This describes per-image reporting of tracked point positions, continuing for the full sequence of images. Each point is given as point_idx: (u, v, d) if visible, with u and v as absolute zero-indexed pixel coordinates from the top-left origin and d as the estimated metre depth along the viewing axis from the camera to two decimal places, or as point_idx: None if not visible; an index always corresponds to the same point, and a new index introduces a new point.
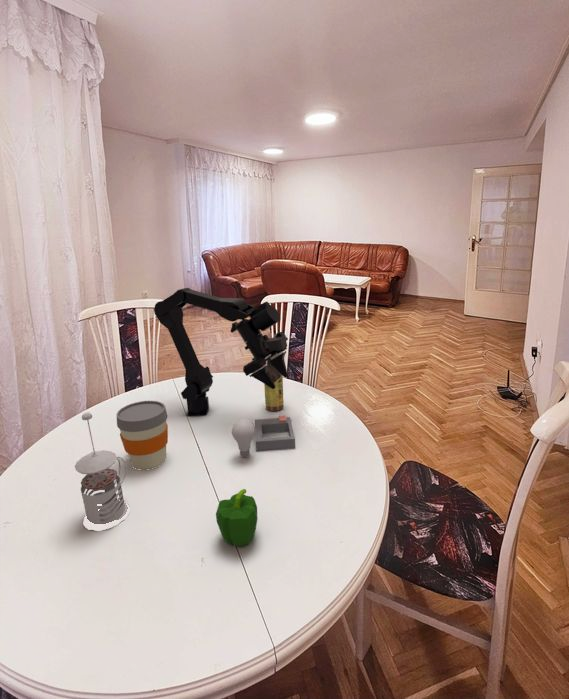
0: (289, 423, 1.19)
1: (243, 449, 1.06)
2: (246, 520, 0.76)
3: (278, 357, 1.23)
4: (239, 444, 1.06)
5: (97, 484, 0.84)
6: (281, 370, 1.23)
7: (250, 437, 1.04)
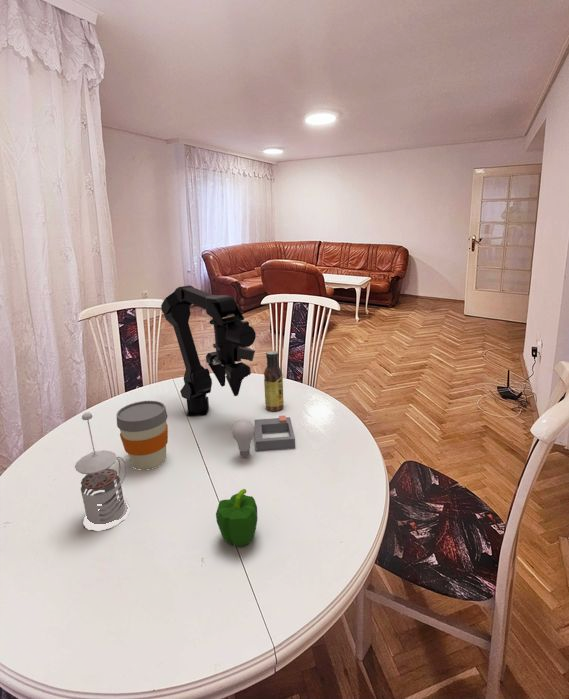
0: (289, 423, 1.19)
1: (243, 449, 1.06)
2: (246, 520, 0.76)
3: (223, 365, 1.22)
4: (239, 444, 1.06)
5: (97, 484, 0.84)
6: (221, 378, 1.22)
7: (250, 437, 1.04)
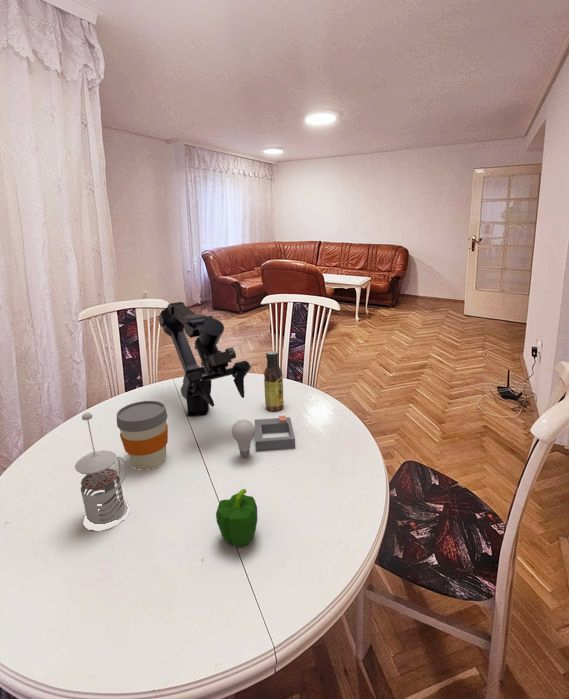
0: (289, 423, 1.19)
1: (243, 449, 1.06)
2: (246, 520, 0.76)
3: (237, 375, 1.15)
4: (239, 444, 1.06)
5: (97, 484, 0.84)
6: (239, 390, 1.14)
7: (250, 437, 1.04)
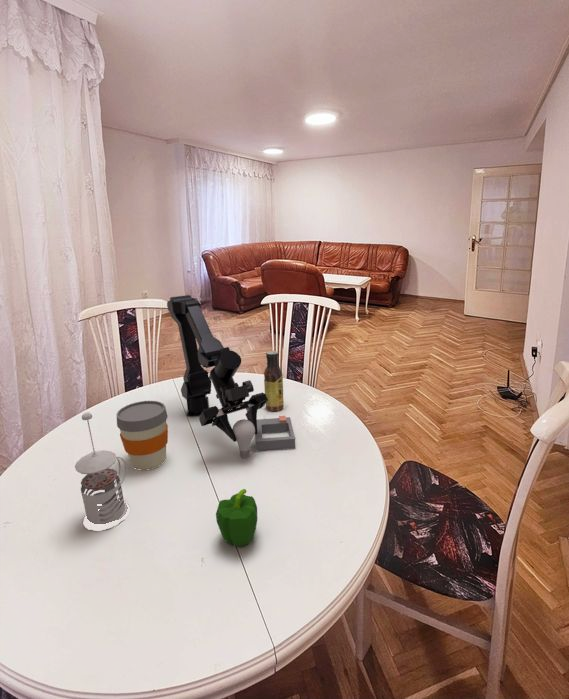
0: (289, 423, 1.19)
1: (243, 449, 1.06)
2: (246, 520, 0.76)
3: (249, 410, 1.09)
4: (239, 444, 1.06)
5: (97, 484, 0.84)
6: None
7: (250, 437, 1.04)
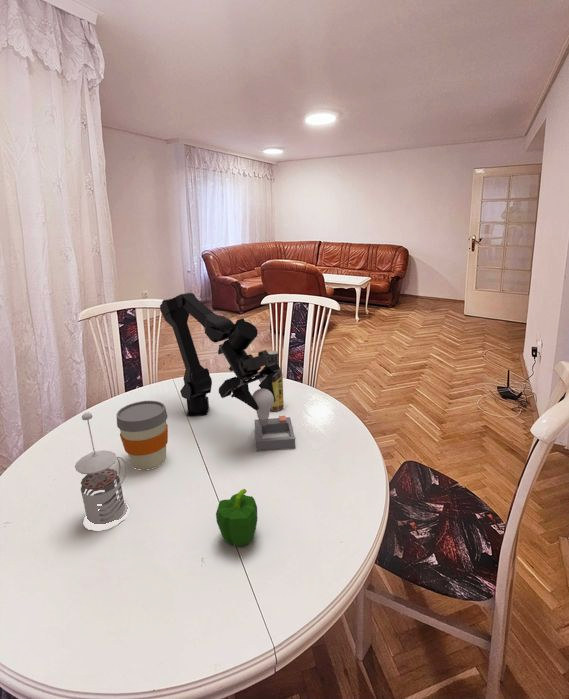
0: (289, 423, 1.19)
1: (263, 417, 1.09)
2: (246, 520, 0.76)
3: (265, 380, 1.12)
4: (260, 412, 1.08)
5: (97, 484, 0.84)
6: None
7: (271, 404, 1.07)
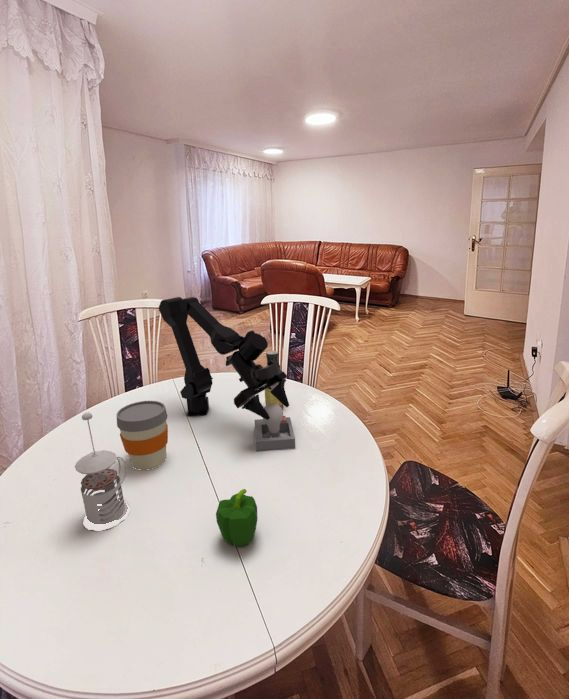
0: (289, 423, 1.19)
1: (275, 430, 1.15)
2: (246, 520, 0.76)
3: (277, 386, 1.18)
4: (272, 426, 1.14)
5: (97, 484, 0.84)
6: (282, 400, 1.17)
7: (282, 417, 1.14)
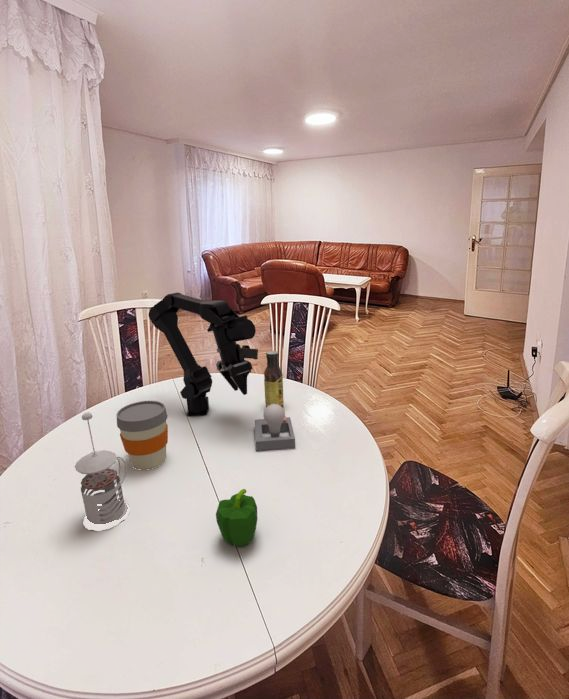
0: (289, 423, 1.19)
1: (276, 431, 1.14)
2: (246, 520, 0.76)
3: None
4: (273, 427, 1.14)
5: (97, 484, 0.84)
6: (233, 382, 1.25)
7: (283, 418, 1.14)
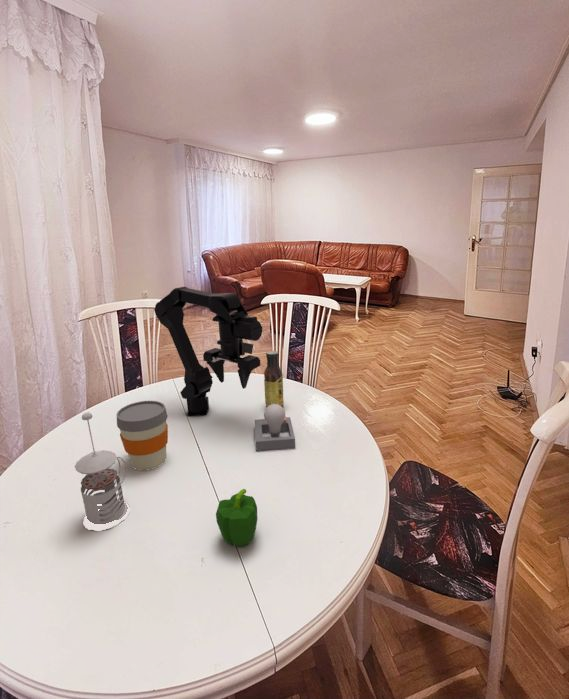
0: (289, 423, 1.19)
1: (276, 431, 1.14)
2: (246, 520, 0.76)
3: (221, 361, 1.25)
4: (273, 427, 1.14)
5: (97, 484, 0.84)
6: (220, 374, 1.25)
7: (283, 418, 1.14)
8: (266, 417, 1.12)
